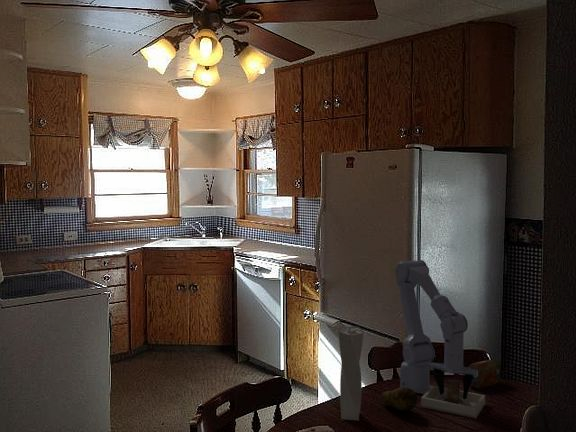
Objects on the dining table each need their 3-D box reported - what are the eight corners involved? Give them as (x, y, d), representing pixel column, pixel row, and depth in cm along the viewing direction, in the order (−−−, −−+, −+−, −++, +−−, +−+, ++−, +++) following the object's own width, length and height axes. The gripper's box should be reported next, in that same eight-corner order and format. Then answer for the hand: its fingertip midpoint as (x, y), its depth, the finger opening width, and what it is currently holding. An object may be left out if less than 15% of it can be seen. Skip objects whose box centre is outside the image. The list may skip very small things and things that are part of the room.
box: (421, 407, 167) (421, 397, 167) (433, 394, 178) (433, 385, 178) (475, 418, 158) (476, 408, 158) (484, 404, 169) (485, 395, 169)
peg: (445, 404, 168) (446, 382, 168) (449, 400, 171) (449, 379, 171) (457, 406, 166) (457, 384, 166) (460, 403, 169) (461, 381, 169)
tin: (471, 390, 182) (471, 365, 182) (464, 387, 185) (464, 363, 184) (502, 383, 189) (502, 359, 189) (494, 380, 192) (495, 357, 191)
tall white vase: (362, 423, 156) (363, 327, 155) (337, 421, 157) (337, 326, 156) (363, 412, 163) (363, 321, 162) (339, 410, 165) (339, 320, 164)
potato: (402, 401, 172) (403, 377, 171) (421, 417, 159) (421, 391, 159) (378, 404, 170) (378, 379, 170) (395, 420, 157) (396, 393, 157)
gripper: (427, 352, 168) (426, 395, 169) (474, 360, 160) (474, 404, 161) (433, 347, 174) (433, 388, 175) (479, 354, 166) (479, 397, 167)
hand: (453, 395), depth 168 cm, fingers open, 7 cm apart
